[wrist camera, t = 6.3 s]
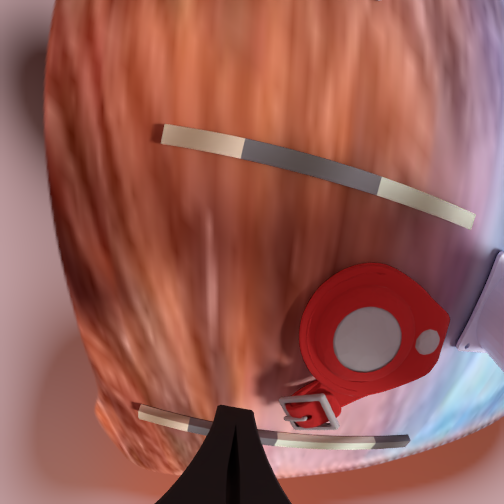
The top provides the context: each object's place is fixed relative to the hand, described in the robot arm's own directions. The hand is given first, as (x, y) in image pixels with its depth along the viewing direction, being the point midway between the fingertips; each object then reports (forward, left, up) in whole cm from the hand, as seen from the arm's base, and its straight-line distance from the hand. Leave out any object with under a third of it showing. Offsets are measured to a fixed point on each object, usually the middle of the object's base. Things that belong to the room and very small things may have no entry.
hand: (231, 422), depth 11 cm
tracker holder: (-7, 0, -8) cm, 11 cm away
